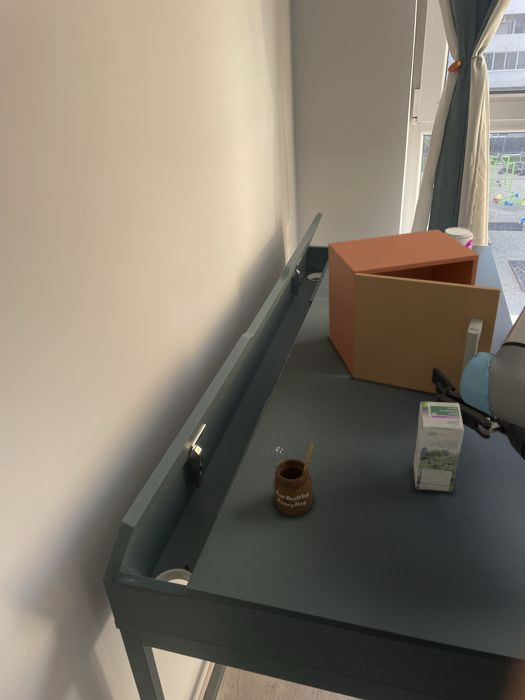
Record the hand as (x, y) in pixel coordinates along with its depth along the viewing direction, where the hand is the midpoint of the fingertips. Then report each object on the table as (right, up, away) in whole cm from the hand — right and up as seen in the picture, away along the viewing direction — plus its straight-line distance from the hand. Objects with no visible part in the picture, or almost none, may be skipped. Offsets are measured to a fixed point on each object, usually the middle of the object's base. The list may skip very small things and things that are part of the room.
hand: (471, 368), depth 91 cm
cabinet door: (-6, -6, +14) cm, 17 cm away
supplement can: (+19, +23, +62) cm, 69 cm away
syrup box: (-9, -18, -6) cm, 21 cm away
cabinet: (-5, +4, +32) cm, 33 cm away
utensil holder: (-31, -21, -8) cm, 38 cm away
